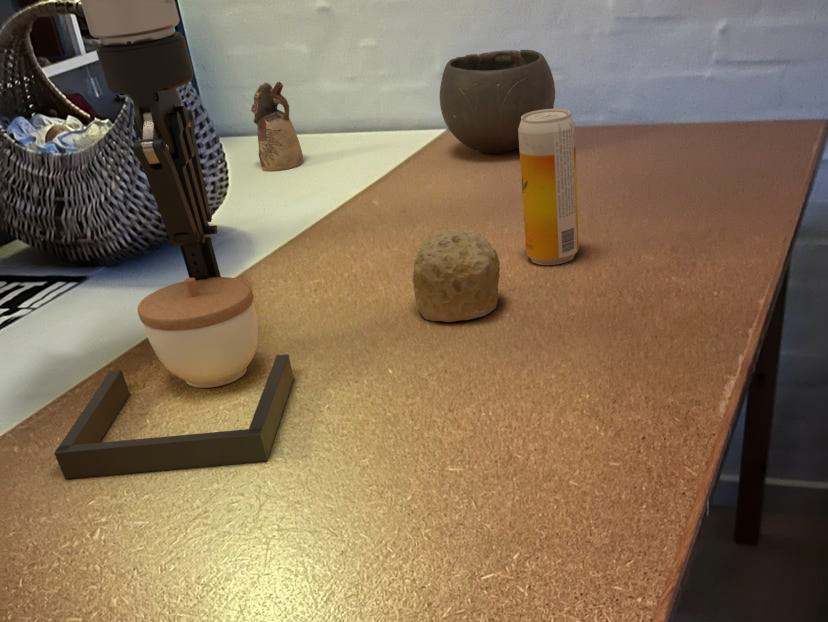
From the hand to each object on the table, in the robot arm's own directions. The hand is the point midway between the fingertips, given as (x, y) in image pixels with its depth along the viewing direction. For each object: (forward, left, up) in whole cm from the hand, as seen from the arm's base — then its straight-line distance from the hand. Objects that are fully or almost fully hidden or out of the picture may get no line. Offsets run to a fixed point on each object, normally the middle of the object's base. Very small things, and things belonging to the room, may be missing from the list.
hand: (213, 306), depth 98 cm
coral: (+18, +17, -5) cm, 26 cm away
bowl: (-12, +77, -5) cm, 78 cm away
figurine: (-45, +62, -5) cm, 77 cm away
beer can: (+20, +34, -5) cm, 40 cm away
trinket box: (+3, -5, -5) cm, 8 cm away
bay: (+8, -14, -5) cm, 17 cm away
